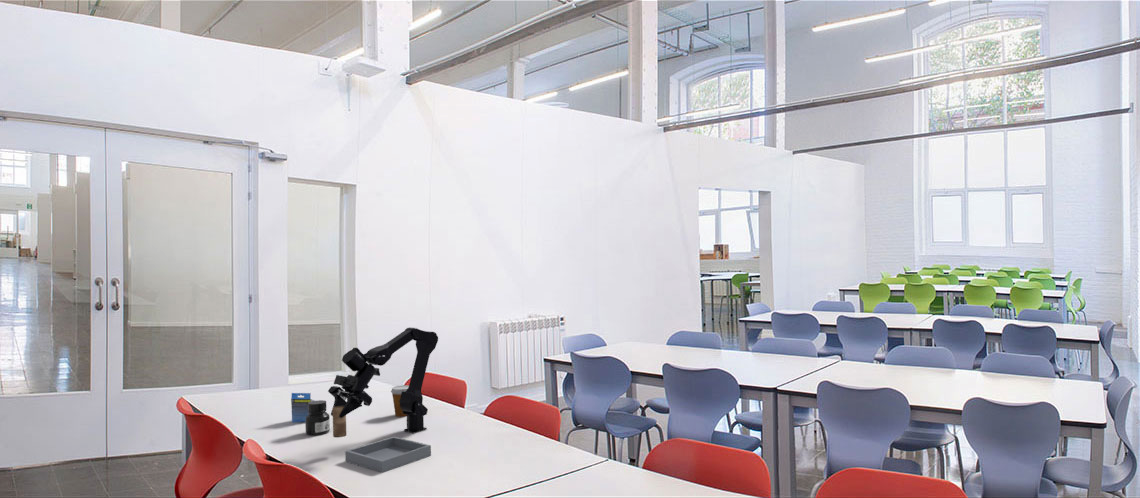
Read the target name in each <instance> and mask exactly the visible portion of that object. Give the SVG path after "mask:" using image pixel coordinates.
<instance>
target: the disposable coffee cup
mask: <svg viewBox="0 0 1140 498" xmlns="http://www.w3.org/2000/svg"><path fill="white" fill-rule="evenodd" d="M408 387H409V384H408V385H406V384H402V385H396V386H392V387H391V391H390V392H391V394H392V400H393V402H392V403H393V407H394V413H395V417H397V418H404V417H407V415H406V414H403V411H402V409H401V407H400V402H399V400H400V398H401V393H402V391H404V392H405V391H406V390H407V389H408Z"/></svg>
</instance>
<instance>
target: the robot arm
mask: <svg viewBox="0 0 1140 498" xmlns="http://www.w3.org/2000/svg"><path fill="white" fill-rule="evenodd" d="M411 341H415V347H416V348H415V349H416V352H417V353H416V358H415V360H414V365H413V369H412V373H411V376H410V381H409V384H408V385H409V387H408V389H407V390H406V391H405V392H404V391H402V393H401V398H400V400H399V402H400V407H401V409H402V411H403V414H406V415H407V416H406V428H404V429H403V431H405V432H407V433H408V432H409V433H412V434H416V433H418V432H422V431H425V430H428V428H427V427H425V426H424V424H425V423H424V417H425V416H427V415H428V407H426V405H424V404H423V400H424V398H423V394H422V388H423V384H424V380H425V375H426V372H427V367H428V363H429V358H430V356H431V354H432V352H433V351H435V349H436V346H437V344H438V341H439V336H438V334H437V332H434V331H426V330H421V329H419V328H417V327H406V329H404V331H402V332H400V333H399V334H397V335H396V336H394V337H393V338H392V339H390V340H389V341H387V342H386V343H384V344H382V345H379V346H375V347H372V348H370V349H368V350H367V352H365V353H363V352H362V351H361V350H360V349H359V348H358V347H353V348H352V349H351V350H348V352H346V353H344V355H342V359H341V361H342V363H344V365H346V367H348V368H349V370H351V371H352V372H356V373H354V375H352V374H347V376H344V375H339V374H337V375H336V376H335V378H334V380H333V385H331V386H330V387H329V389H328V391H327V392H328V393H329V394H330V395H331V396H333V398H334V401H333V407H335V406H344V408H343V409H342V411H341V413H340V415H339V417H340V418H342V417H344V416H345V415H346V416H347V415H348V414H350V413H351V412H354V411H355V410H358V408H360V407H361V408H362V407H363V405H364V406H365V407H366V406H367V407H370V405H371V404H372V403H373V397H372V396H371V395H369V393H367V392H366V391H365V390H366V389H369V387H370V385H368V384H369V383H370V381H371V380H372V379H373V377H374V376H377V377H380V376H381V372H380V368H378V367H376V366H385V365H386V364H387V363H388V361H390V360H391V358H392V356H393V354H394V353H395V352H397V351H398V350H400V349H401V348H403V347H404V346H405V345H407V344H408V343H410V342H411ZM374 365H375V366H374ZM337 385H338V386H337ZM333 407H332V408H333ZM330 415H331V417H333V411H332V410H331V413H330Z"/></svg>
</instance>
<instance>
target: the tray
mask: <svg viewBox="0 0 1140 498" xmlns="http://www.w3.org/2000/svg"><path fill="white" fill-rule="evenodd" d="M344 453H345V454H344V455H345V457H344V458H345V461H344V462H346V461H347V463H349V462H350V464H352V463H353V465H356V464H357V465H356V466H359V465H360V467H363V468H366V469H369V470H370V469H371V470H373V471H376V472H380V473H386V472H389V471H390V470H394V469H397V468H399V467H402V466H405V465H409V464H410V463H414V462H417V461H419V460H422V459H426V458H428V457H431V456H432V445H431V444H428V443H427V444H426V443H423V442H419V441H413V440H410V439H406V438H402V437H397V436H391V437H388V438H384V439H381V440H378V441H375V442H370V443H367V444H365V445H361V446H357V447H355V448H351V449H348V450H345V451H344Z"/></svg>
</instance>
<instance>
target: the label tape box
mask: <svg viewBox="0 0 1140 498" xmlns="http://www.w3.org/2000/svg"><path fill="white" fill-rule="evenodd" d="M301 396H302V397H301ZM311 396H312V395H311V392H291V396H290V397H291V398H290V401H291V422H292V423H305V418H306V416H307V415H308V414H309V413H308V403H309V402H312V401H316V400H315V399H311Z"/></svg>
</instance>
